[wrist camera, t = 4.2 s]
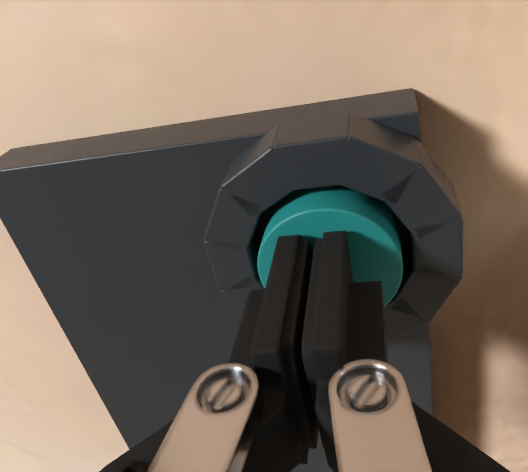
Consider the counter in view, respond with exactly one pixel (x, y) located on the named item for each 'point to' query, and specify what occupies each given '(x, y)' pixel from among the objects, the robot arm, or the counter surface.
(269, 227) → the button
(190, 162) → the dark grey flat block
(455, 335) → the counter surface
